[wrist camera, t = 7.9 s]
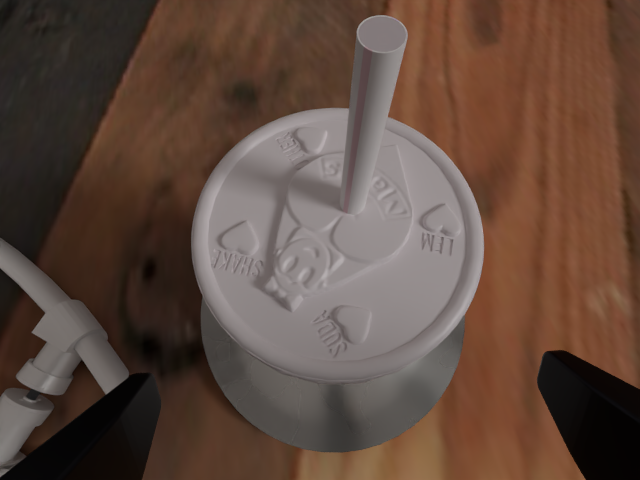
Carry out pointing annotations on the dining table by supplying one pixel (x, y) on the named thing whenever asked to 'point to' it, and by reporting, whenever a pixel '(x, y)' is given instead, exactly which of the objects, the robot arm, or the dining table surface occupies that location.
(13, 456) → the door handle
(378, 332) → the smoothie
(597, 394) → the robot arm
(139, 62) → the dining table surface
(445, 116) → the dining table surface
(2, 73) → the dining table surface
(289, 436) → the pad
